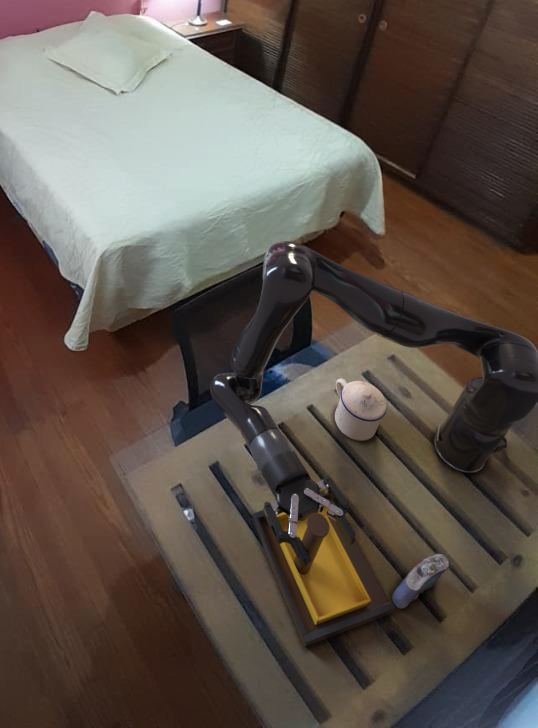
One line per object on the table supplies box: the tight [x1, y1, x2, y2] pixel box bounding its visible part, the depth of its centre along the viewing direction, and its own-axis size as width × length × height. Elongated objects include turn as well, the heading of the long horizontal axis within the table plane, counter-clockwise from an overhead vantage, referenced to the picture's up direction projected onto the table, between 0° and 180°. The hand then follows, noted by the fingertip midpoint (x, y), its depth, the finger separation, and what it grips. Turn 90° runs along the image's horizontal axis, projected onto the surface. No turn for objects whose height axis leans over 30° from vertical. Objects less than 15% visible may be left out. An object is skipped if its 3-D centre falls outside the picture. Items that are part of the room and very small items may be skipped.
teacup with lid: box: [334, 378, 388, 442], centre depth 116 cm, size 12×9×12 cm
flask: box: [391, 553, 451, 610], centre depth 91 cm, size 9×3×11 cm, turn 117°
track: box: [251, 490, 396, 647], centre depth 97 cm, size 16×20×2 cm
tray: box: [277, 512, 371, 625], centre depth 92 cm, size 10×16×18 cm, turn 15°
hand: (331, 553), depth 90 cm, fingers open, 8 cm apart
